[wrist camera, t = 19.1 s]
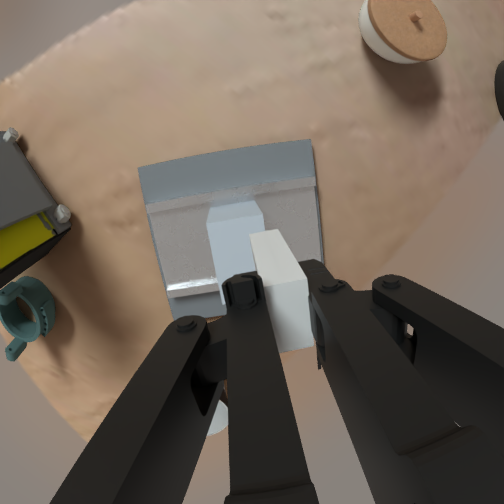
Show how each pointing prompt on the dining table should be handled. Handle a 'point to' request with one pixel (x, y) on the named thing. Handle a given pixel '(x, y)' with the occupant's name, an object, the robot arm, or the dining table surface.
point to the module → (233, 238)
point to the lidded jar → (403, 29)
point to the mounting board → (219, 177)
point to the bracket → (16, 322)
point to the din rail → (196, 235)
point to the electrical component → (25, 212)
